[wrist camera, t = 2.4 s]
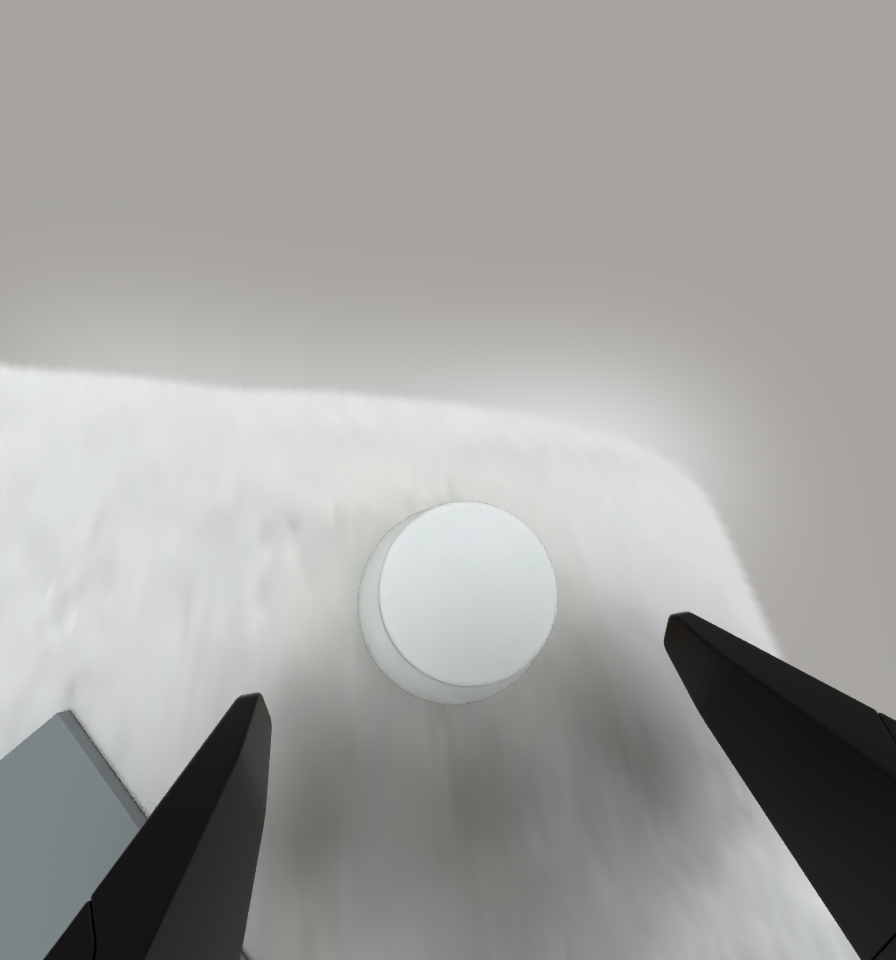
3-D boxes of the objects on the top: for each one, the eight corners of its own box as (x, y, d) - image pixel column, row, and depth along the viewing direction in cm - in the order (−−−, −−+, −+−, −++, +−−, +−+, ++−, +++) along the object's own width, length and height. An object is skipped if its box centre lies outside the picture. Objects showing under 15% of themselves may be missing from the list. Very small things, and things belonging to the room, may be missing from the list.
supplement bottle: (371, 684, 18) (334, 734, 9) (373, 548, 19) (345, 472, 10) (506, 677, 18) (605, 719, 9) (497, 545, 20) (572, 471, 11)
